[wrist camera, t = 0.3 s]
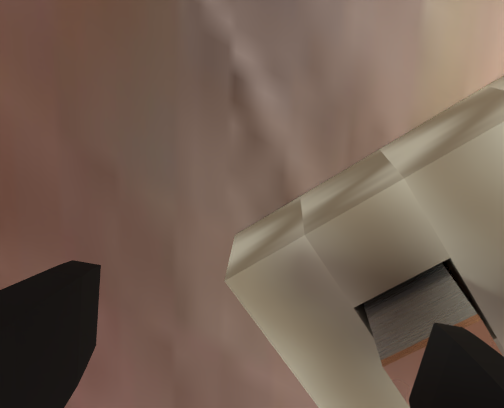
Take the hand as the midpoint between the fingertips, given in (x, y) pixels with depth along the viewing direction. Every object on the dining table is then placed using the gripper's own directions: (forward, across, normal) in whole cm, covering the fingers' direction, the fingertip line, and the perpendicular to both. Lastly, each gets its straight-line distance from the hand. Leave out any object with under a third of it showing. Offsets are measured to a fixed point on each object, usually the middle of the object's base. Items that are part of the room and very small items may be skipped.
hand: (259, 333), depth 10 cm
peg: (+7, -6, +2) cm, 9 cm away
